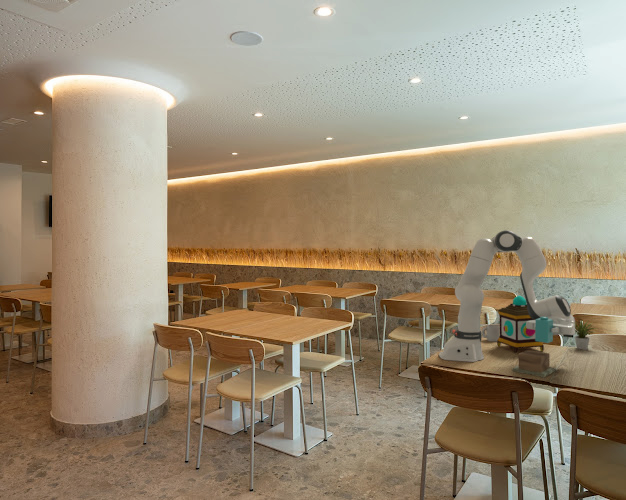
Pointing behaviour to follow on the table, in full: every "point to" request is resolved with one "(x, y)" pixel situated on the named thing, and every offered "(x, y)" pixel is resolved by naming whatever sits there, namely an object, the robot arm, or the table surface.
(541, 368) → the tower base
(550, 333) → the teal brick
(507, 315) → the decorative lantern
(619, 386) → the table surface
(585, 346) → the house plant
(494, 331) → the cup
